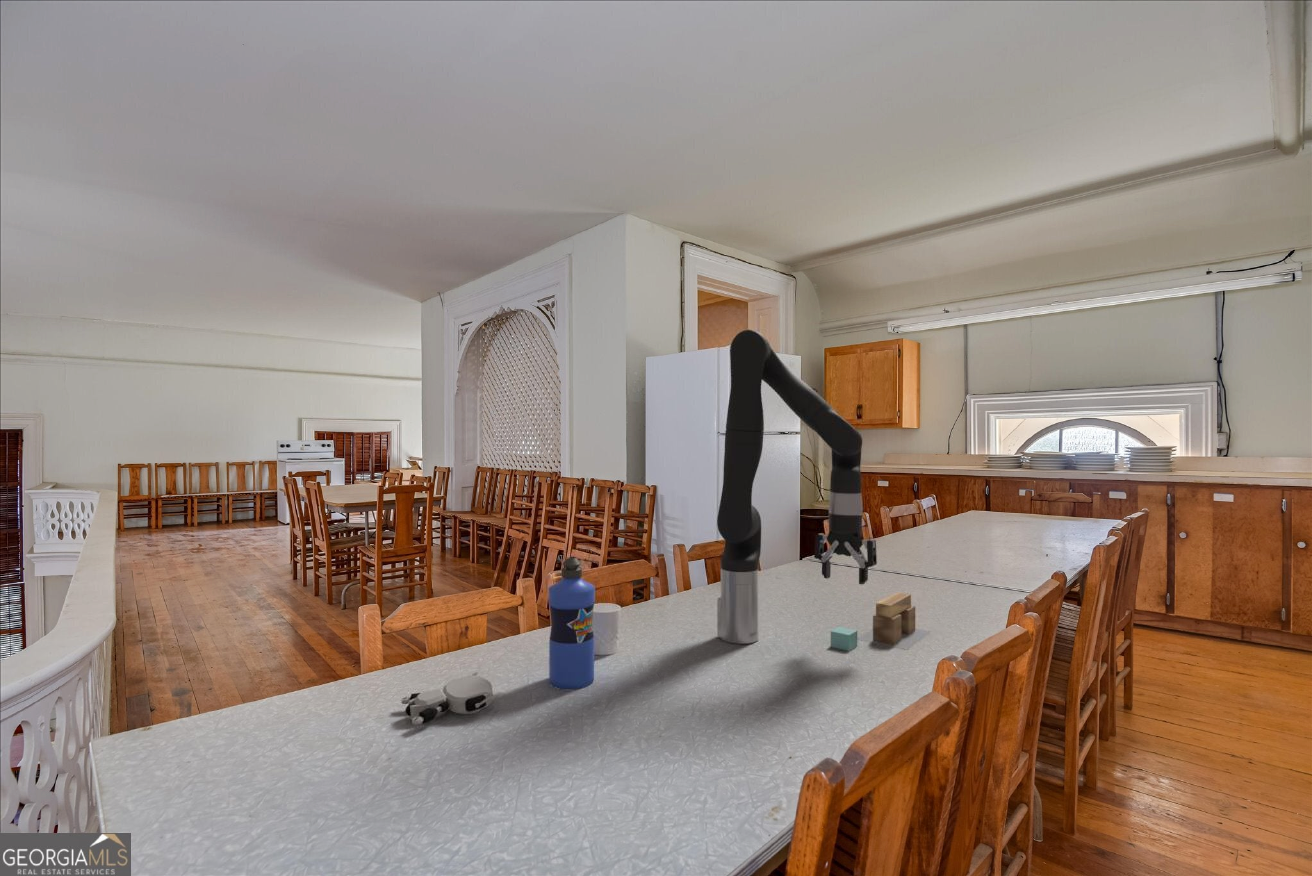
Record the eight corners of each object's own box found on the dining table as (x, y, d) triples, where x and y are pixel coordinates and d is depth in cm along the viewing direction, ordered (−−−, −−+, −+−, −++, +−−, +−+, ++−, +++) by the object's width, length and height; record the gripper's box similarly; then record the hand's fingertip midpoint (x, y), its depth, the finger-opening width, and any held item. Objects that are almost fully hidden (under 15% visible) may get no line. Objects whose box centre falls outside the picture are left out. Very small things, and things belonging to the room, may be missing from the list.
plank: (876, 615, 150) (876, 603, 150) (897, 603, 160) (897, 592, 160) (890, 618, 147) (890, 605, 147) (910, 606, 158) (910, 594, 158)
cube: (830, 650, 145) (830, 631, 145) (839, 645, 149) (839, 626, 149) (849, 654, 142) (849, 635, 142) (857, 649, 146) (857, 630, 146)
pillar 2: (888, 630, 157) (888, 606, 157) (895, 626, 161) (895, 603, 161) (908, 634, 154) (908, 610, 154) (915, 630, 158) (915, 606, 158)
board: (856, 642, 151) (856, 638, 151) (884, 625, 164) (884, 622, 164) (906, 653, 143) (906, 649, 143) (931, 634, 157) (931, 631, 157)
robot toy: (414, 742, 103) (502, 714, 111) (411, 715, 103) (500, 689, 111) (400, 714, 113) (481, 690, 121) (398, 689, 113) (480, 667, 121)
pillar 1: (872, 640, 150) (872, 615, 150) (880, 635, 153) (880, 611, 153) (893, 644, 146) (893, 619, 146) (901, 639, 150) (901, 614, 150)
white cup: (580, 653, 143) (580, 610, 143) (596, 643, 150) (596, 601, 150) (611, 658, 140) (611, 613, 140) (626, 647, 147) (626, 605, 147)
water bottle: (604, 680, 127) (604, 557, 127) (568, 694, 120) (568, 564, 120) (574, 668, 133) (574, 551, 133) (539, 681, 126) (539, 557, 126)
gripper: (810, 510, 148) (809, 578, 148) (869, 516, 139) (868, 588, 139) (823, 507, 154) (822, 573, 154) (881, 513, 144) (880, 583, 144)
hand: (844, 580), depth 146 cm, fingers open, 8 cm apart
